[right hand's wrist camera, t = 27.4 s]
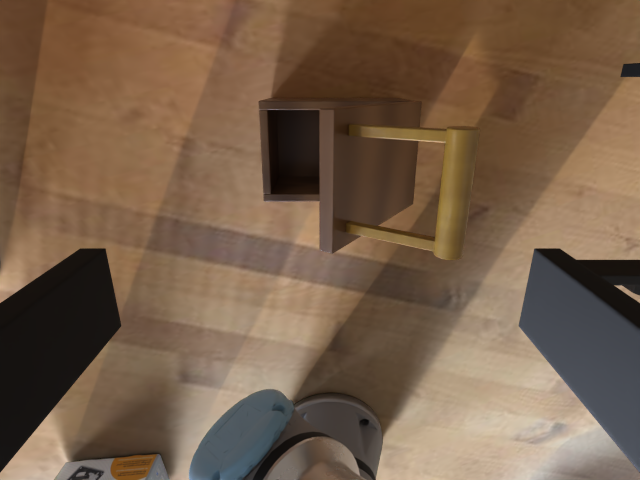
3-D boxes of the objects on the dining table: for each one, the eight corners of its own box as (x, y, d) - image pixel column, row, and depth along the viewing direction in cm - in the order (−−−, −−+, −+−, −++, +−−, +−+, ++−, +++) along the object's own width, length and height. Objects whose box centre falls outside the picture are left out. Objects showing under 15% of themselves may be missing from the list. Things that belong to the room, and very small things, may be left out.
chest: (273, 181, 47) (263, 201, 39) (270, 98, 44) (258, 101, 36) (391, 181, 47) (406, 201, 39) (396, 97, 44) (414, 100, 36)
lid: (319, 250, 27) (450, 283, 23) (319, 108, 24) (472, 114, 20) (402, 202, 39) (501, 218, 34) (410, 101, 35) (520, 103, 31)
